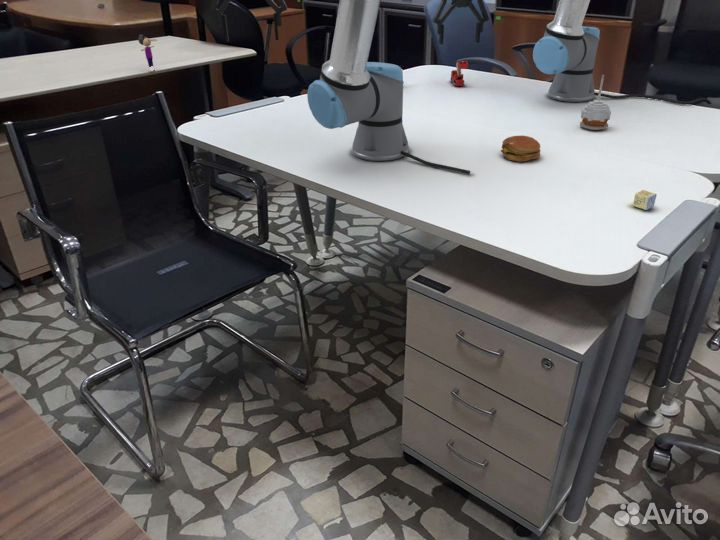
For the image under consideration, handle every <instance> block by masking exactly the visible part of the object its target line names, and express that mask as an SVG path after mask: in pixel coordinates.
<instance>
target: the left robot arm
mask: <svg viewBox="0 0 720 540" xmlns="http://www.w3.org/2000/svg"><path fill="white" fill-rule="evenodd" d="M219 1H220V0H212V1H211V5H210V8H209V13H211V14H214V15H216V16H217V22H218V27H219V29H223V36H224V43H229V41H230V37H229V29H228V22H227V15H226V14H223V13H224V12H225V10H226V8H227V7H228V6H229V4H230V3H231V1H232V0H223V2H222V4H221V5H220V6H219V8H217V7H218V4H219ZM264 1H265V2H266V3H267V4H268V5H269V6H270V7H271V9H273V11H274V12H273V14H272V15H273V24H274V25H273V27H274V36H275V41H279V40H280V35H279V27H282V25H283V22H282V13H283V12H285V11H287V9H288V6H287V4H286V2H285V0H277V2H278V4H279V6H278V5H277V3H276V2H275V1H274V0H264ZM381 1H382V0H339V3H338V10H337V16H336V20H335V21H336V22H335V28H334V33H333V38H332V44H331V49H330V57H329V59H328V60H327V61H325V62H324V63H323V64H322V66H321V71H320V76H319V79H315V80H314V81H313V82H312V83H310V84H309V86H308V88H307V95H306V96H307V104H308V108H309V111H310V112H311V115H312V116H313V118H314V120H315V121H316V122H317V123H318V124H319V125H320V126H322V127H323V128H325V129H328V130H329V129H330V130H333V129H338V128H344V127H346V126H348V125H351V124H356V123H358V125H357V128H356V131H355V135H354V138H353V141H352V155H353V156H354V157H356V158H358V159H360V160H364V161H371V162H389V161H394V160H398V159H399V160H400V159H401V158H404V157H407V158H410V159H412V160H414V161H416V162H418V163H420V164H423V165H425V166H429V167H433V168H437V169H442V170H447V171H453V172H456V173H462V174H467V175H471V170H468V169H464V168H459V167H454V166H450V165H447V164H441V163H436V162H430V161H427V160H426V159H425V160H424V159H422V158H420V157H418V156H416V155H413V154H411V153H409V151H410V150H409V149H410V146H409V141H408V137H407V134H406V132H405V128H404V125H403V124H404V123H403V108H404V107H403V106H404V84H405V81H404V72H403V69H402V68H401V66H399V65H397V64H393V63H389V62H388V63H387V62H377V61H368V60H369V56H370V52H371V46H372V42H373V38H374V34H375V33H374V32H375V28H376V25H377V21H378V20H377V19H378V15H379V10H380V7H381V6H380V5H381Z"/></svg>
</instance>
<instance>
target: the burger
mask: <svg viewBox="0 0 720 540" xmlns="http://www.w3.org/2000/svg"><path fill="white" fill-rule="evenodd" d="M500 152H501V153H502V156H503V157H505V158H506V159H507V160H509V161H513V162H527V161H530V160H535V159H538V158H540V157H541V144H540V142H539V141H538V140H537V139H535V138H534V137H532V136H529V135H512V136H508V137H506V138H504V139H503V140H502V145H501V149H500Z"/></svg>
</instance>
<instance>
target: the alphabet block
mask: <svg viewBox="0 0 720 540" xmlns="http://www.w3.org/2000/svg"><path fill="white" fill-rule="evenodd" d="M657 195H658V194H657V193H655V192H651V191H648V190H645V189H642V190H640V191H637V192H636V193H635V194H634V198H633V203H632V206H633V207H635V208H638V209H640V210H641V209H642V210H644V211H648V210H650V209H652V208H654V207H655V203H656V199H657Z"/></svg>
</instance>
